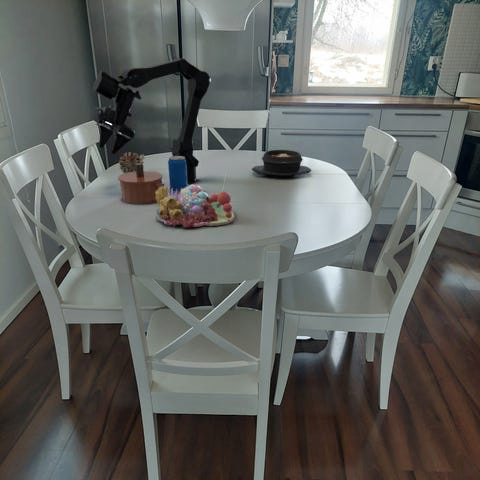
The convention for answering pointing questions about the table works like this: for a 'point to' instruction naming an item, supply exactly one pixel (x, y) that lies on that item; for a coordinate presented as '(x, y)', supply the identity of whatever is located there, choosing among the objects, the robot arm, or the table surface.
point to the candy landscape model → (193, 207)
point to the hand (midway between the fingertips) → (106, 150)
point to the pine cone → (130, 162)
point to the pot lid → (140, 176)
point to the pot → (140, 192)
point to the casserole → (281, 164)
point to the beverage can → (177, 173)
